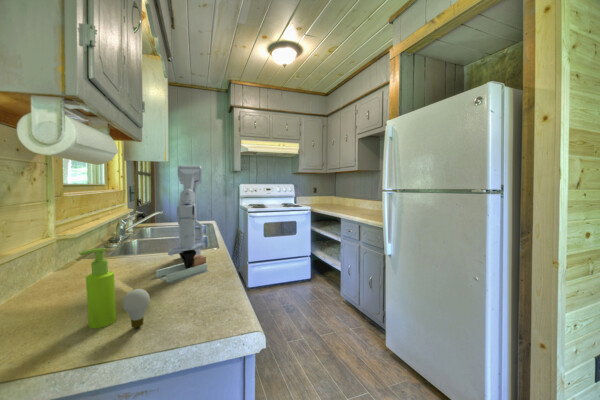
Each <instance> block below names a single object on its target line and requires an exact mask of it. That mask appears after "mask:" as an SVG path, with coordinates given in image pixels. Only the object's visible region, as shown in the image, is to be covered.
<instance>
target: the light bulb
mask: <svg viewBox="0 0 600 400" xmlns="http://www.w3.org/2000/svg"><path fill="white" fill-rule="evenodd" d="M150 301H151V298H150V294H149V293H148V292H147V290H145V289H142V288H136V289H135V288H134V289H132V290H131V291H128V293H127V294H125V296H124V297H123V300H122V307H123V310H124V311H125V312H126V313H127V314H128V315H129V319H130V325H131V327H132V328H134V329H139V328H141V326H143V325H144V316H145V313H146V311H147V307H148V306H149V304H150V303H151V302H150Z"/></svg>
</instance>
